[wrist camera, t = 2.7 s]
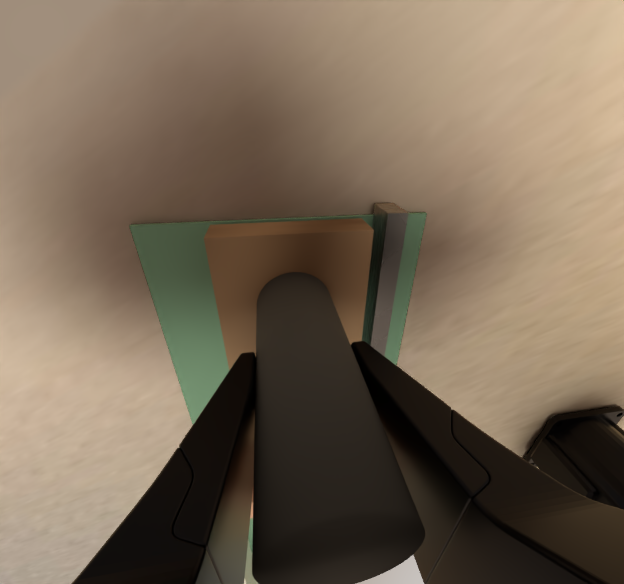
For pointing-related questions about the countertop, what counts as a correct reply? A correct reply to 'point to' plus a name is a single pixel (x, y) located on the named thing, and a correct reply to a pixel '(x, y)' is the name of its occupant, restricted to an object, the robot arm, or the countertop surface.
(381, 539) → the striker sled
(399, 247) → the guide rail
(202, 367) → the mat
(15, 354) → the countertop surface
